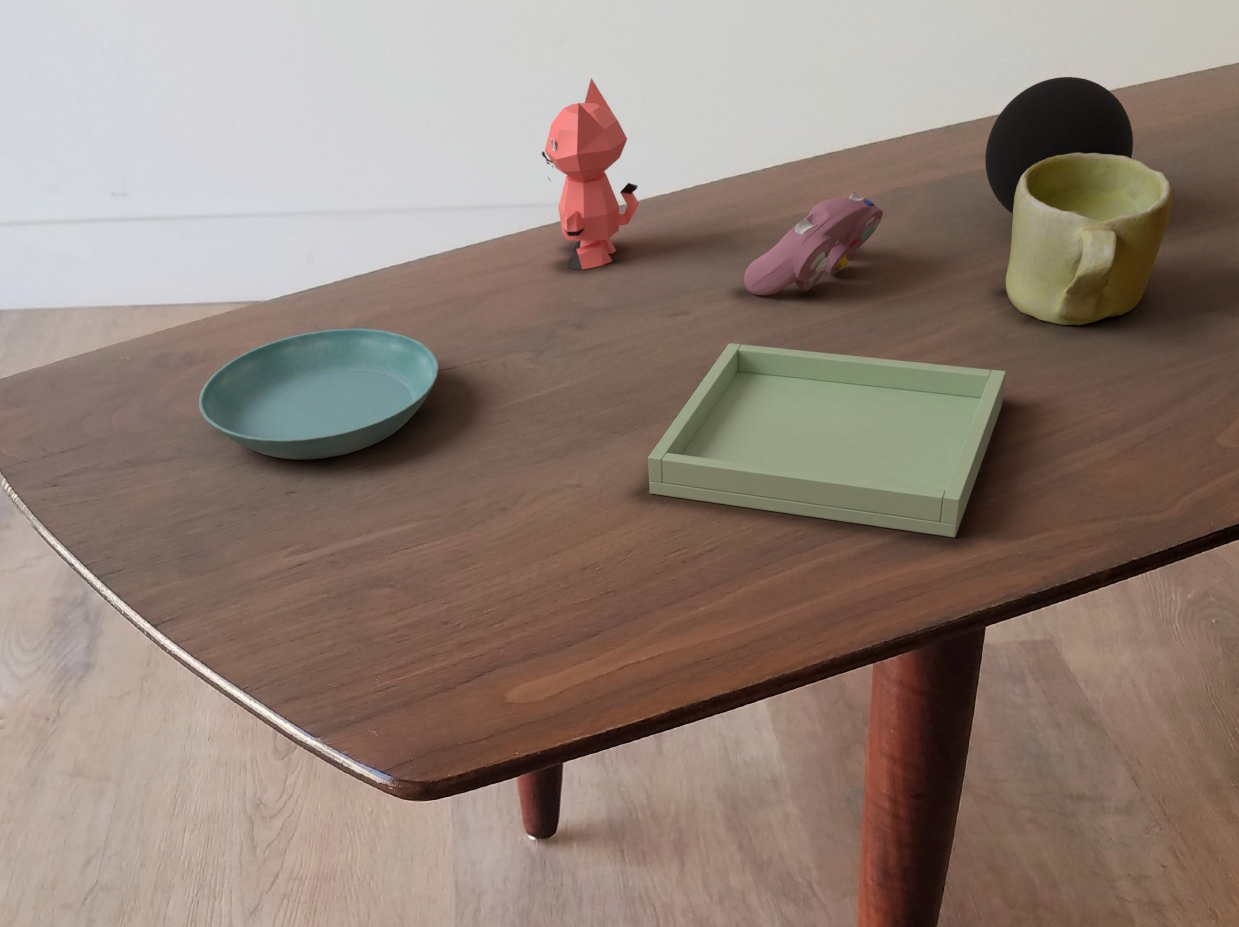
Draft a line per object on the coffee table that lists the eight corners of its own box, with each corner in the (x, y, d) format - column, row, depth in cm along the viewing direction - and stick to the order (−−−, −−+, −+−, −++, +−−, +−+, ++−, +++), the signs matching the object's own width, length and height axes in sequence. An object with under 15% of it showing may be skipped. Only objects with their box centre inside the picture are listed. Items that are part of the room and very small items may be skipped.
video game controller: (781, 327, 95) (823, 248, 89) (733, 286, 96) (771, 205, 90) (861, 278, 100) (905, 201, 94) (815, 240, 101) (856, 161, 95)
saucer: (192, 397, 90) (181, 360, 88) (408, 347, 93) (402, 310, 92) (230, 502, 79) (219, 461, 77) (474, 440, 82) (468, 400, 81)
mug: (992, 233, 96) (1052, 105, 88) (1133, 287, 94) (1207, 163, 86) (948, 337, 89) (1009, 209, 81) (1099, 397, 88) (1176, 273, 79)
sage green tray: (1001, 406, 80) (1006, 370, 79) (955, 538, 70) (959, 499, 69) (729, 376, 86) (729, 342, 85) (649, 493, 76) (647, 457, 74)
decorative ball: (1116, 197, 104) (1139, 58, 98) (1124, 248, 97) (1149, 101, 91) (980, 196, 107) (994, 60, 101) (977, 245, 99) (992, 102, 93)
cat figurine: (559, 239, 107) (545, 77, 99) (647, 237, 106) (639, 73, 98) (543, 275, 101) (527, 106, 94) (635, 274, 100) (627, 103, 93)
